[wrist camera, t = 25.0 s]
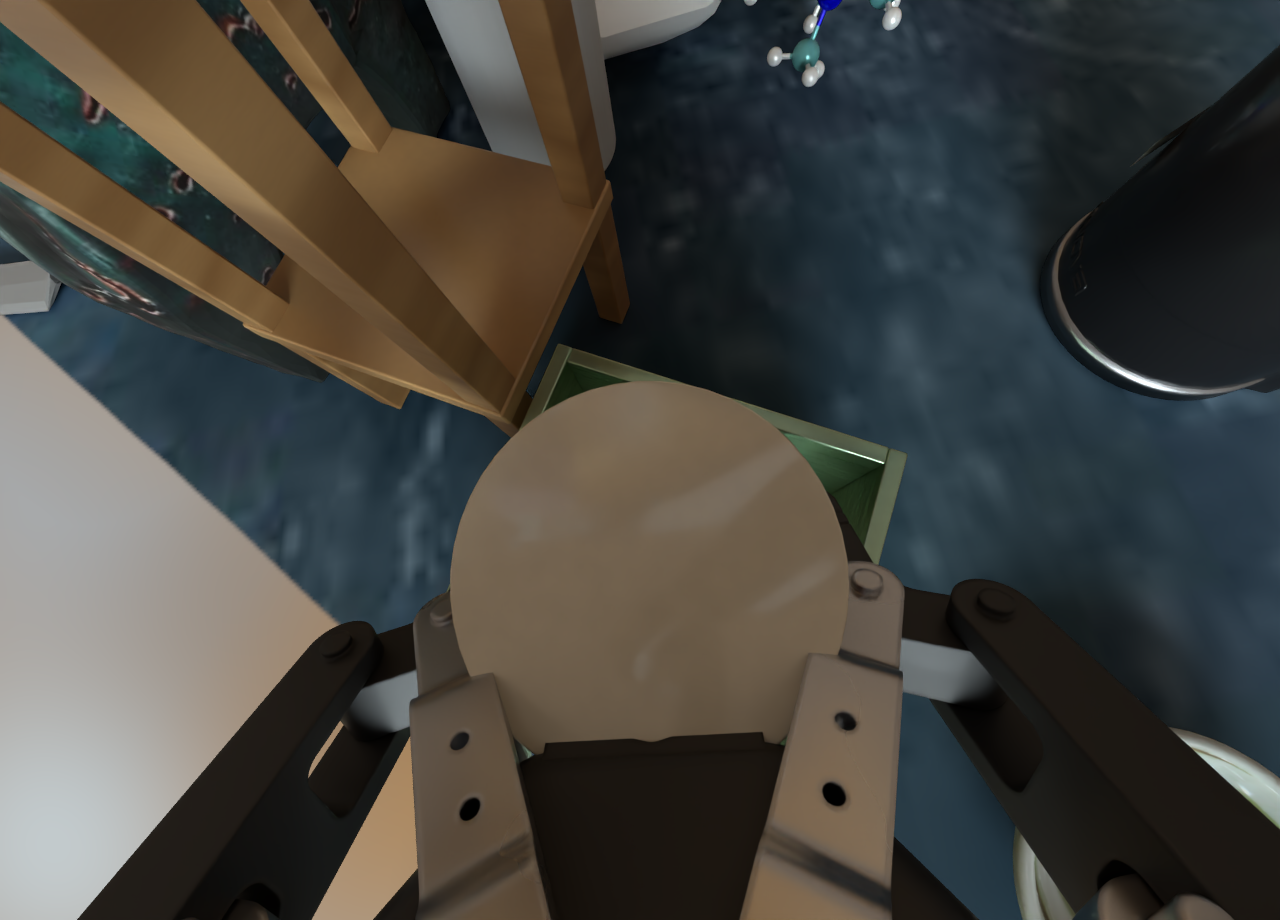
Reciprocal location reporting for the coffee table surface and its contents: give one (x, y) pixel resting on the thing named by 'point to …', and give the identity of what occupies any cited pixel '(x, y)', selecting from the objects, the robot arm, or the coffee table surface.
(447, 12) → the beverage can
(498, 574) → the tumbler
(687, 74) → the coffee table surface
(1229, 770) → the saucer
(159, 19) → the wooden stand
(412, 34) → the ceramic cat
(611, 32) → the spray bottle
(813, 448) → the open box
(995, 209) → the coffee table surface
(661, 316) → the coffee table surface
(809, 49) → the molecule model
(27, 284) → the chef's knife
